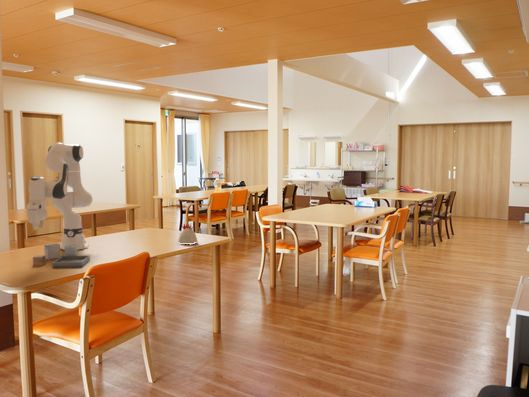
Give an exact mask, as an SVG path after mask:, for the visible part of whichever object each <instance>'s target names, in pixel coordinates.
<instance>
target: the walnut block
mask: <svg viewBox="0 0 529 397" xmlns="http://www.w3.org/2000/svg"><path fill="white" fill-rule="evenodd" d="M32 265H33V267H34V266H35V267H36V266H37V267H38V266H39V267H40V266H42V265H43V266H44V265H46V259H45V254H43V255H42V254H40V255H34V256H33V257H32Z"/></svg>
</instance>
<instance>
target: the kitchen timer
mask: <svg viewBox="0 0 529 397" xmlns="http://www.w3.org/2000/svg"><path fill="white" fill-rule="evenodd" d="M181 226H182V229H183V230H182V231H181V232H180V233H179V236H178V239H177V243H178V242H180V243H194V242H197V243H198V237H197V235H196V232H195V231H194V230H193V228H194V226H192V224H189V223H183V225H181Z"/></svg>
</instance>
